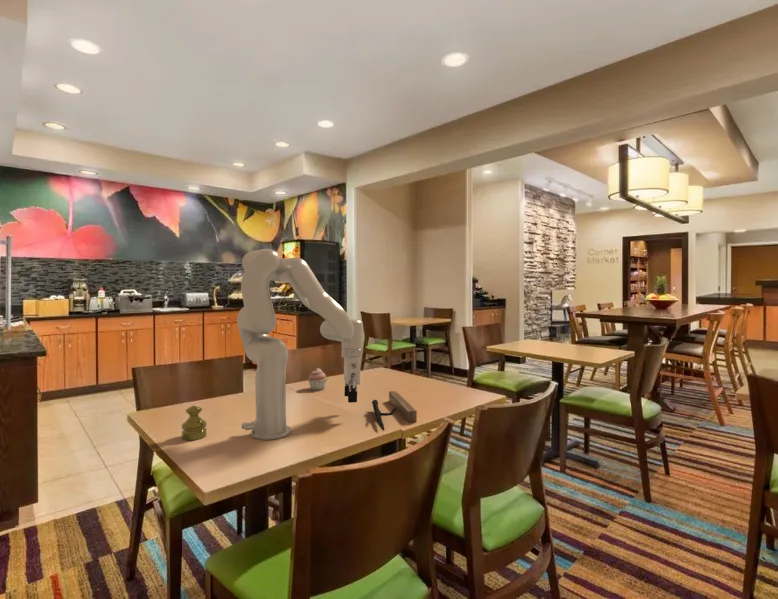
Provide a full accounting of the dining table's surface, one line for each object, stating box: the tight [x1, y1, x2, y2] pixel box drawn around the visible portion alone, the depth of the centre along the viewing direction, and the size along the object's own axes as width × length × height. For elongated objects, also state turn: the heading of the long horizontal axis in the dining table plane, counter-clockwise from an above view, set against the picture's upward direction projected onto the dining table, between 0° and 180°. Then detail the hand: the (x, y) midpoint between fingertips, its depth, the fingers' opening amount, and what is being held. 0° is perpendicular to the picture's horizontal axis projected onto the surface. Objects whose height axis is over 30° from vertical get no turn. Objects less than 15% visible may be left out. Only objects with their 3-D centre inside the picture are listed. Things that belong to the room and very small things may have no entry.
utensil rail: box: [388, 390, 418, 424], centre depth 170 cm, size 3×30×4 cm, turn 13°
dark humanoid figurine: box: [371, 399, 397, 431], centre depth 160 cm, size 8×9×25 cm
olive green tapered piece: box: [181, 404, 208, 441], centre depth 142 cm, size 7×7×10 cm
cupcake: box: [307, 367, 328, 391], centre depth 206 cm, size 9×9×10 cm
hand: (350, 399), depth 164 cm, fingers open, 9 cm apart
